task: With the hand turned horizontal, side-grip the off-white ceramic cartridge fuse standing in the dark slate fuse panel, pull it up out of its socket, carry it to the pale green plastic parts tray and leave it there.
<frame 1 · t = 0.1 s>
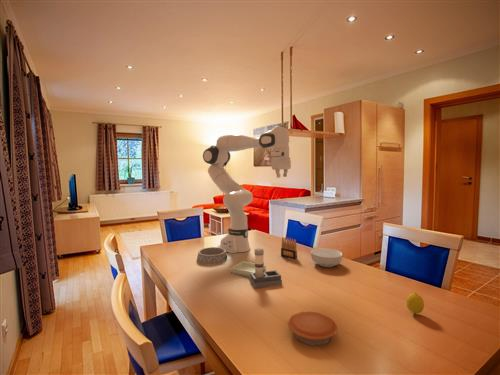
hand: (281, 177, 167), 48 cm above the table, tool pointing down, fingers open, 8 cm apart
tray: (248, 271, 147), on the table
ammunition clip: (288, 257, 169), on the table
lemon: (414, 314, 103), on the table
pie: (312, 335, 92), on the table
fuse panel: (259, 283, 132), on the table
cereal bowl: (326, 265, 155), on the table
dog bowl: (212, 260, 168), on the table
fuse: (259, 279, 132), point 2 cm above the table, touching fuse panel
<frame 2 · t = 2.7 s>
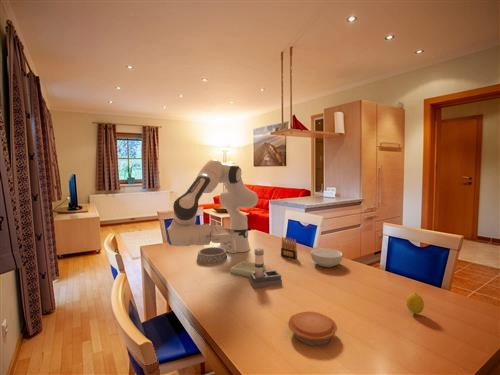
hand: (235, 232, 127), 25 cm above the table, tool horizontal, fingers open, 8 cm apart
nothing on the table moved.
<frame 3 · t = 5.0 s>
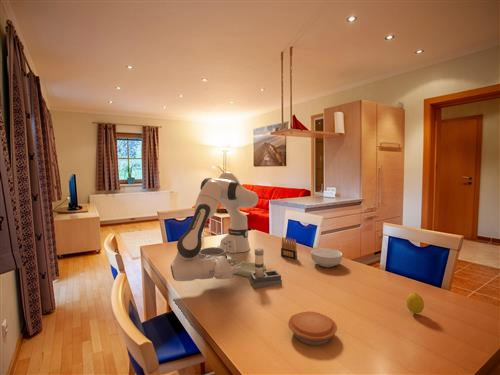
hand: (238, 265, 129), 10 cm above the table, tool horizontal, fingers open, 8 cm apart
nothing on the table moved.
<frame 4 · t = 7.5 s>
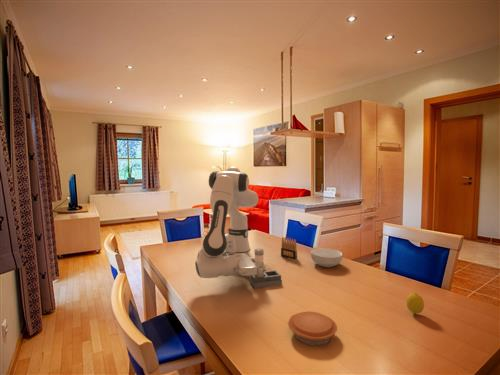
hand: (261, 262, 132), 10 cm above the table, tool horizontal, fingers closed on fuse, 4 cm apart
fuse: (259, 279, 132), point 2 cm above the table, touching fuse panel, gripper
everything else where it was.
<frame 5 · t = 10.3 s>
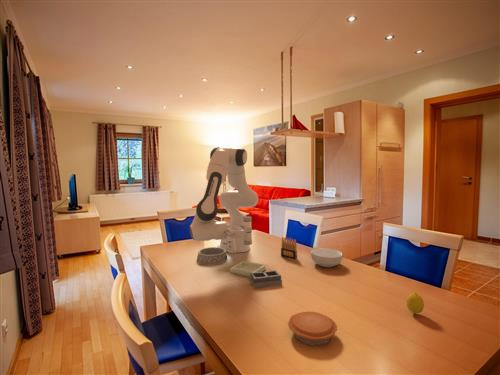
hand: (249, 228, 145), 23 cm above the table, tool horizontal, fingers closed on fuse, 4 cm apart
fuse: (247, 243, 146), point 15 cm above the table, touching gripper
everything else where it was.
when the fingers open (10 cm above the table, at t = 13.0 s): fuse drops 1 cm, resting on tray.
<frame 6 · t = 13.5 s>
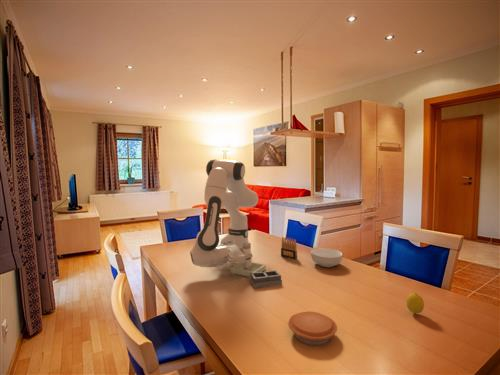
hand: (249, 252, 146), 10 cm above the table, tool horizontal, fingers open, 8 cm apart
fuse: (248, 269, 147), point 1 cm above the table, touching tray
everything else where it was.
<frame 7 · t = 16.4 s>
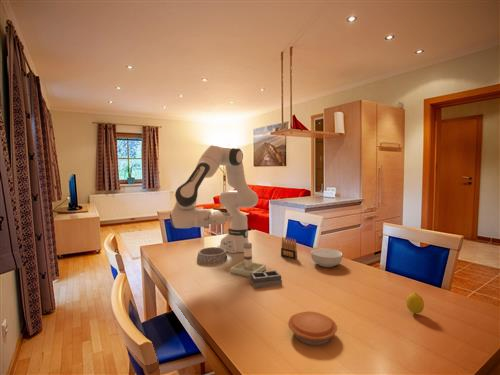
hand: (231, 216, 143), 30 cm above the table, tool horizontal, fingers open, 8 cm apart
nothing on the table moved.
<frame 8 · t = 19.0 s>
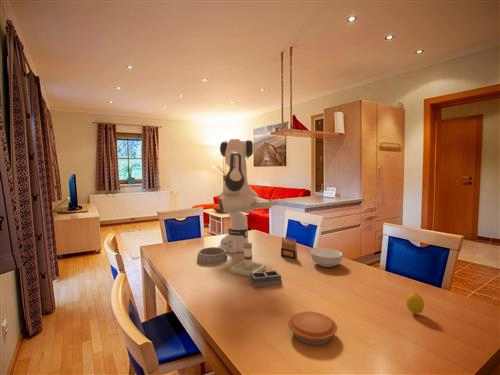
hand: (273, 202, 154), 35 cm above the table, tool horizontal, fingers open, 8 cm apart
nothing on the table moved.
at the end: fuse inside the target area on the tray (0.1 cm from its centre), point 0.8 cm above the tray's base; the gripper is holding nothing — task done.
